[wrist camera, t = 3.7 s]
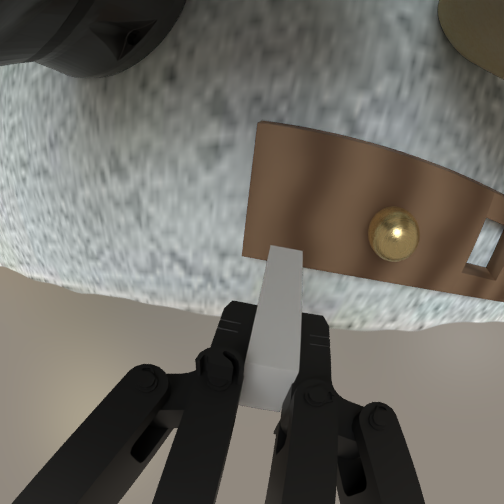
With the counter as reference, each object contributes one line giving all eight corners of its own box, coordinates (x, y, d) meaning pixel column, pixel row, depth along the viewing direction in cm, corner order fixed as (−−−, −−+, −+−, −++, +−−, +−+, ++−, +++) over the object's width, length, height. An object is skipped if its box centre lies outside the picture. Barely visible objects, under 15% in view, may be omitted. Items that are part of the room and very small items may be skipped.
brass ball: (357, 239, 21) (366, 267, 17) (371, 193, 19) (385, 214, 15) (399, 248, 21) (414, 276, 17) (415, 205, 18) (436, 227, 15)
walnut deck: (246, 241, 25) (241, 256, 23) (261, 120, 20) (257, 122, 18) (499, 290, 23) (507, 302, 21) (535, 212, 17) (547, 222, 15)
